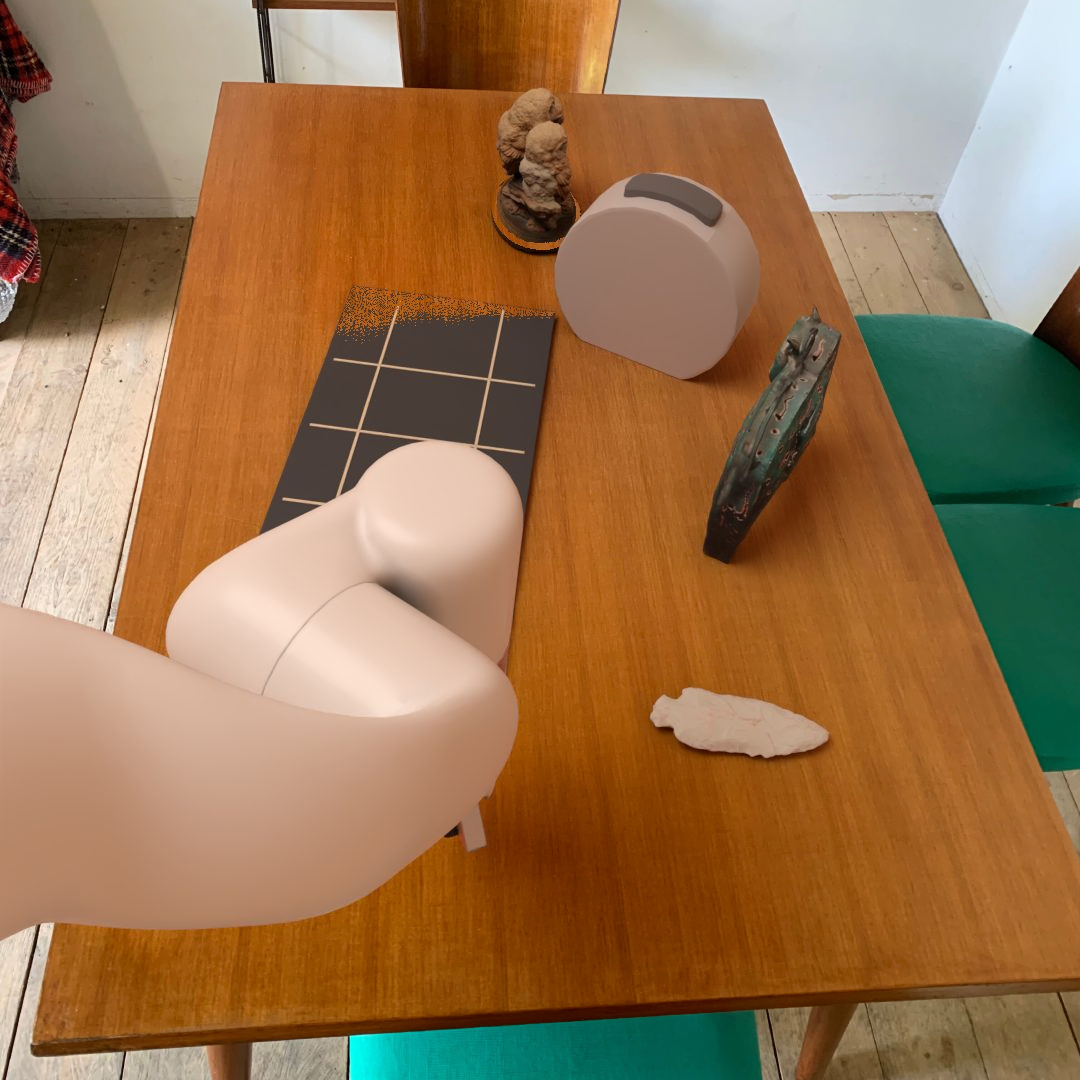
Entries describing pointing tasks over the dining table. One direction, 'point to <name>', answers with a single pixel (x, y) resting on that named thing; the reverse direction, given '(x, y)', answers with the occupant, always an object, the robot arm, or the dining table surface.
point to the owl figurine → (535, 171)
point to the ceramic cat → (773, 433)
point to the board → (417, 398)
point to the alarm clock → (659, 274)
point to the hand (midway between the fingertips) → (437, 785)
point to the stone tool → (736, 724)
